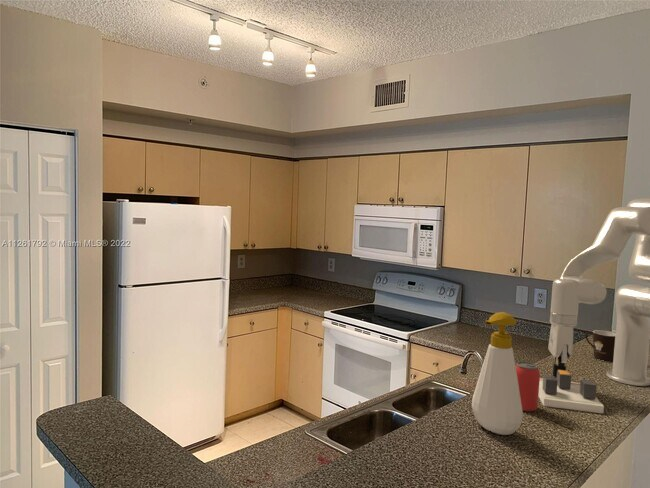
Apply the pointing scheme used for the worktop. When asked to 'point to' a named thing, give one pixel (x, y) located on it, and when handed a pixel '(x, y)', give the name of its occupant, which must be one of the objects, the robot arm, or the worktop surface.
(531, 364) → the beer can
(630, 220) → the robot arm
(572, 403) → the breaker panel
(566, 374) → the block
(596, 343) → the coffee mug
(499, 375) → the soap bottle
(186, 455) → the worktop surface
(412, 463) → the worktop surface
